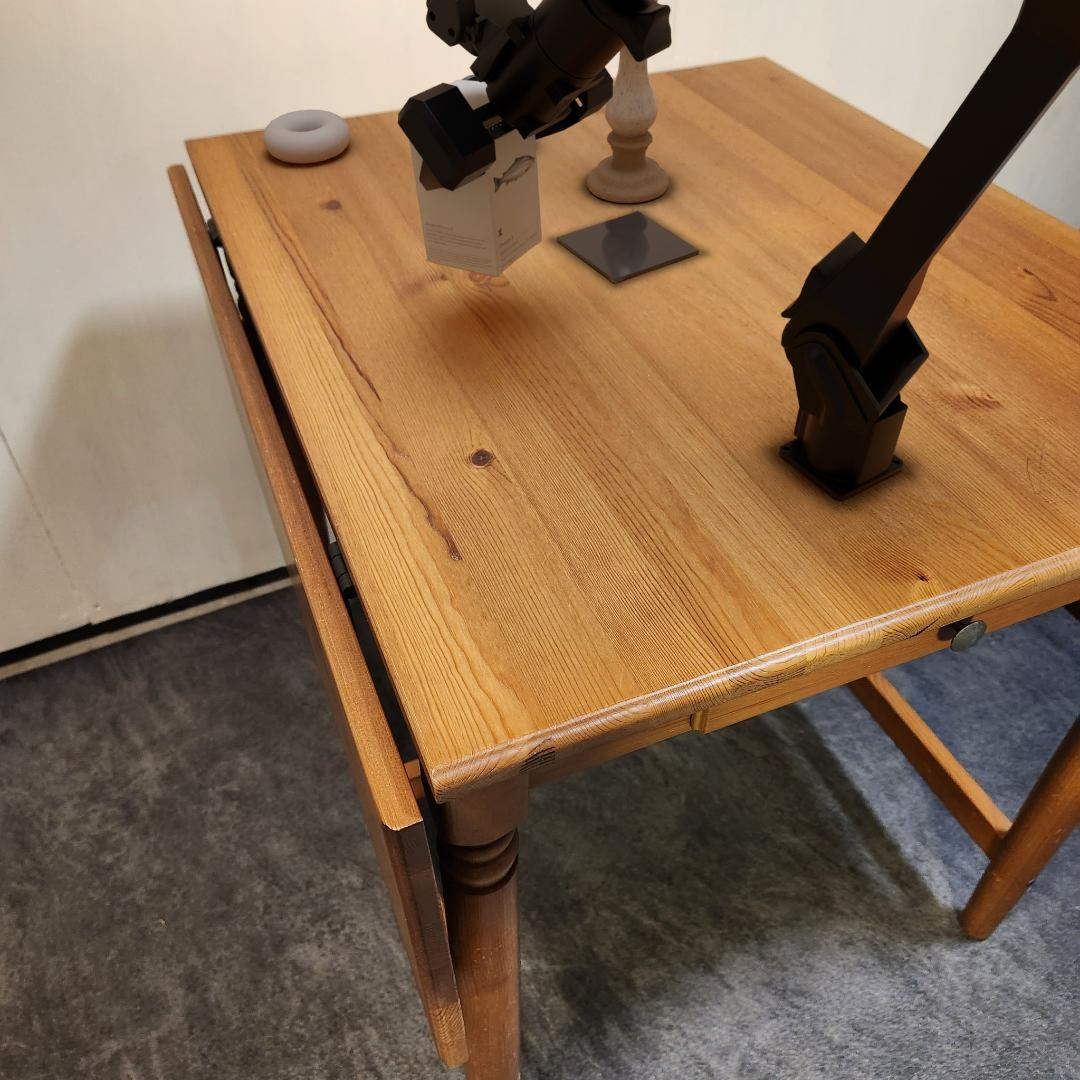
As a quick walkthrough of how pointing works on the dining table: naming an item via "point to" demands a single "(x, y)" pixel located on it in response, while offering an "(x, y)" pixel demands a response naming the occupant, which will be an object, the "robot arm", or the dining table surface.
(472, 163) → the robot arm
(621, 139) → the candle holder
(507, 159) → the white packaging box
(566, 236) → the slate coaster
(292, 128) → the donut
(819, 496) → the dining table surface
